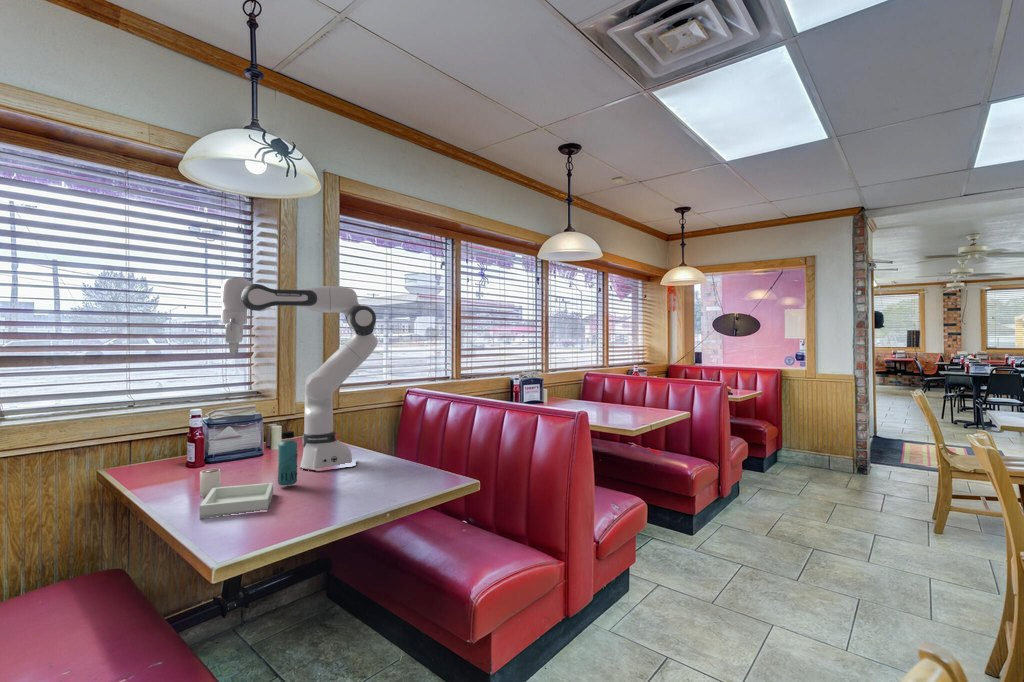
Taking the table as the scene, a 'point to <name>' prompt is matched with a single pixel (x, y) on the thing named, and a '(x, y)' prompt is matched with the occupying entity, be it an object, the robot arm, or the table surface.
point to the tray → (236, 500)
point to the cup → (209, 480)
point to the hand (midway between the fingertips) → (234, 354)
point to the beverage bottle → (287, 460)
